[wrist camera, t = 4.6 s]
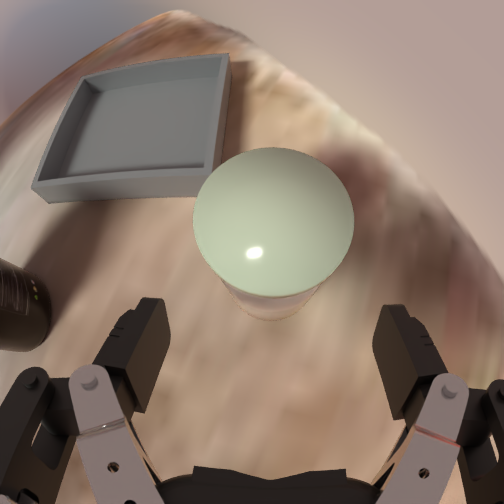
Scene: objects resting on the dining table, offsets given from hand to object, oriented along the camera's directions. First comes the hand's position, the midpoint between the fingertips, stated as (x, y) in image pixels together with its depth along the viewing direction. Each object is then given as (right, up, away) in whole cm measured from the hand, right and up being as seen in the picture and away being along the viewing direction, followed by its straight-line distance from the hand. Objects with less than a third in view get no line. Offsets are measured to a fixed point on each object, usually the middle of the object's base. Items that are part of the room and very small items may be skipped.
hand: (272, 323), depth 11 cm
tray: (-11, +13, +14) cm, 22 cm away
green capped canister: (0, +1, +9) cm, 9 cm away
